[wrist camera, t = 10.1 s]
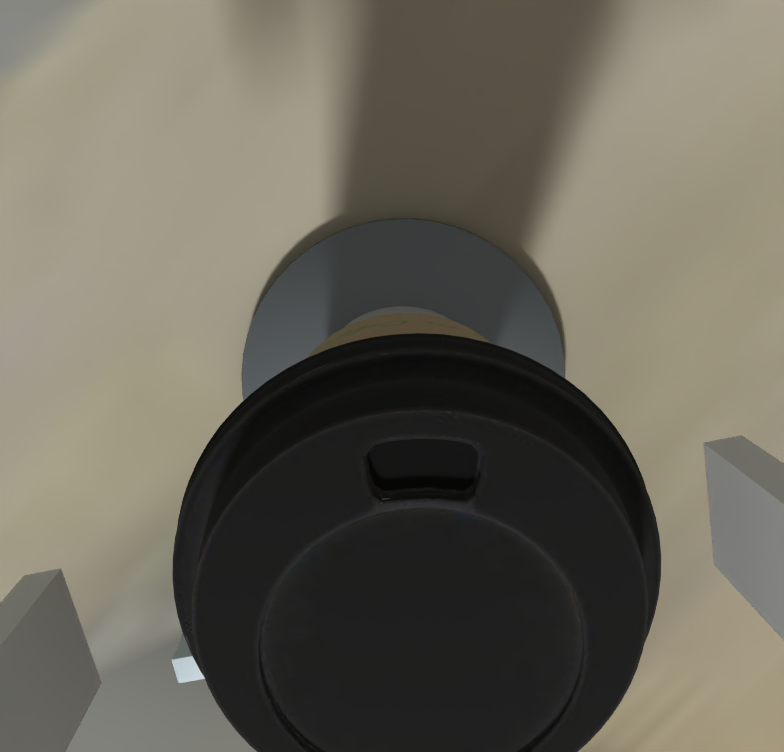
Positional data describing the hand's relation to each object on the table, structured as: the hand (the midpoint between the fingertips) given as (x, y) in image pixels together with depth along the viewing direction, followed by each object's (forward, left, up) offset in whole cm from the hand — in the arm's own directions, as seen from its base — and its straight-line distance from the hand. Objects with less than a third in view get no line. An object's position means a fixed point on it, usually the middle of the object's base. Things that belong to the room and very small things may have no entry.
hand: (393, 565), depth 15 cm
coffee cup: (0, 0, -13) cm, 13 cm away
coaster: (+1, 0, -13) cm, 13 cm away
